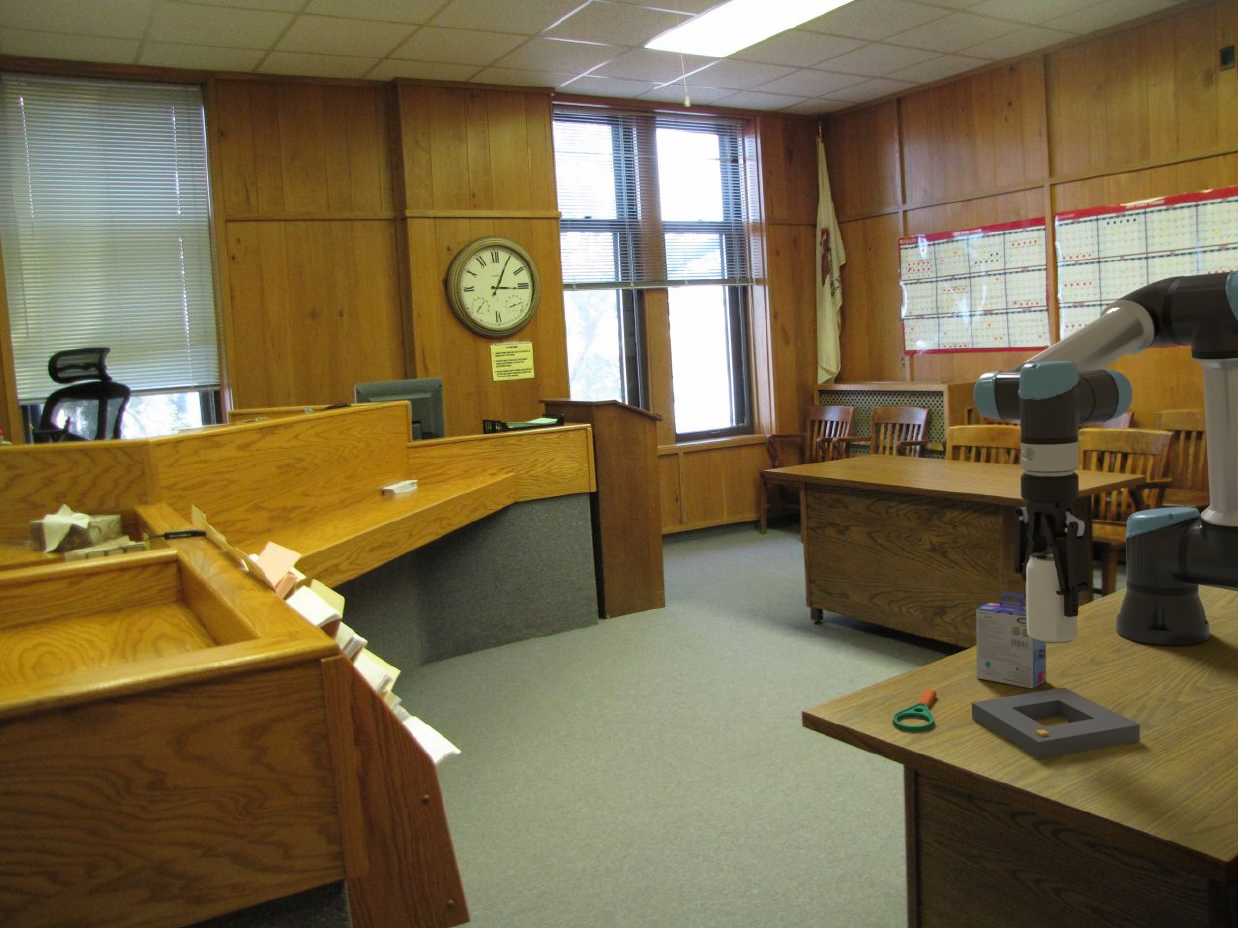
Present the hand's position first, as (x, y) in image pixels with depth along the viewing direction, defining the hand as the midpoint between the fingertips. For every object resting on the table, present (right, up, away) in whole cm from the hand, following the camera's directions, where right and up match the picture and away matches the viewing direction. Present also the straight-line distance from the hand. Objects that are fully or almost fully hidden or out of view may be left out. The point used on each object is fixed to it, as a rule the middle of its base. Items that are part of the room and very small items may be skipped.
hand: (1051, 630), depth 146 cm
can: (0, -1, 0) cm, 1 cm away
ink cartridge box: (+3, -12, +23) cm, 26 cm away
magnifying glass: (-15, -15, +11) cm, 24 cm away
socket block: (+1, -15, +2) cm, 15 cm away
